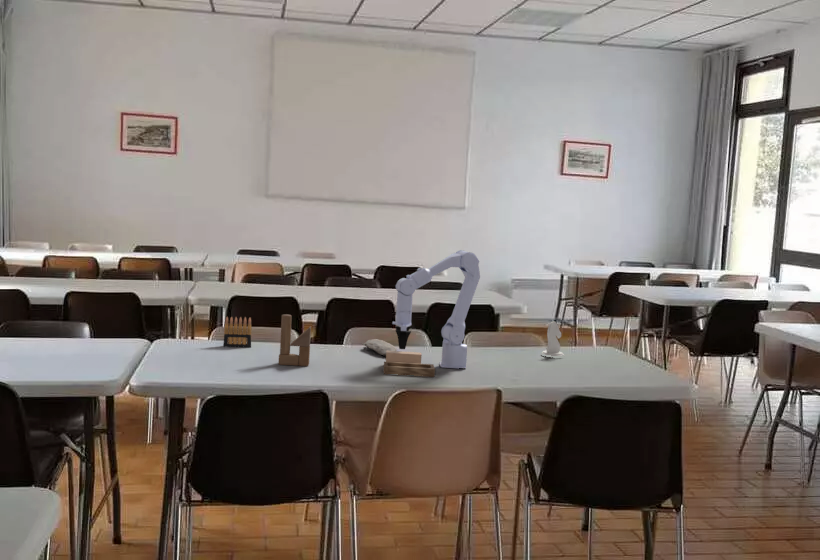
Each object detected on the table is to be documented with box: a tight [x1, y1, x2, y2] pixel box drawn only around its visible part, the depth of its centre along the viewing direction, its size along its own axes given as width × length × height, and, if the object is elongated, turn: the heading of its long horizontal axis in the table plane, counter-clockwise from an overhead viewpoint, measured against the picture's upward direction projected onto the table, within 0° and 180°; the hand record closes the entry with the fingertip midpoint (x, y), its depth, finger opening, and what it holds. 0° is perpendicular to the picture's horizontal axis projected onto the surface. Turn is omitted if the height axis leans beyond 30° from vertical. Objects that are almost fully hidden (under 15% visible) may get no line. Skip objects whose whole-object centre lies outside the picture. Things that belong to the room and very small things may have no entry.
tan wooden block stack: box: [277, 313, 312, 367], centre depth 291 cm, size 4×11×18 cm, turn 92°
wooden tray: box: [383, 361, 436, 378], centre depth 291 cm, size 18×8×3 cm, turn 92°
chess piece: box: [541, 320, 565, 356], centre depth 340 cm, size 10×10×15 cm
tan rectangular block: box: [385, 350, 422, 364], centre depth 301 cm, size 13×4×6 cm, turn 91°
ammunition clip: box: [222, 316, 252, 349], centre depth 317 cm, size 11×2×12 cm, turn 100°
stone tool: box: [363, 338, 398, 357], centre depth 325 cm, size 12×5×25 cm
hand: (401, 347), depth 300 cm, fingers open, 7 cm apart
